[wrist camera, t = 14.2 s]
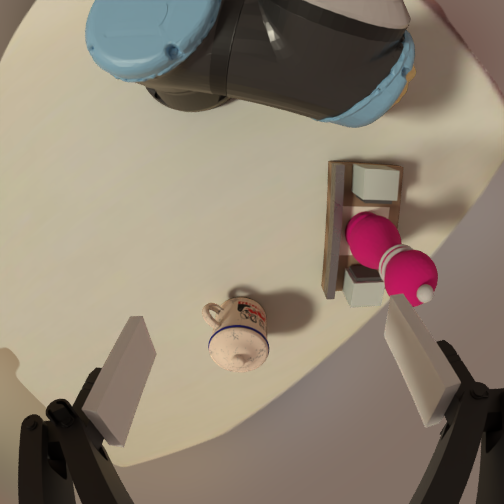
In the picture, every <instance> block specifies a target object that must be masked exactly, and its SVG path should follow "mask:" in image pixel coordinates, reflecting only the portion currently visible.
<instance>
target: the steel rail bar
mask: <svg viewBox="0 0 504 504" xmlns="http://www.w3.org/2000/svg"><path fill="white" fill-rule="evenodd" d="M344 172H345V165H343V164H341V163H332V169H331V198H330V218H329V234H328V248H327V261H326V273H325V284H324V293H325V296H326V299H334V297H335V289H336V280H337V271H338V261H339V251H340V239H341V226H342V212H343V195H344Z"/></svg>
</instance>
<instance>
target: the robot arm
mask: <svg viewBox="0 0 504 504" xmlns="http://www.w3.org/2000/svg"><path fill="white" fill-rule="evenodd" d="M410 20H411V18H410V16H409V13H408V11H407V9H406V6H405V4H404V2H403V0H95V1H94V3H93V5H92V7H91V9H90V12H89V15H88V18H87V22H86V30H85V38H86V45H87V49H88V51H89V53H90V55H91V56H92V58H93V60H94V62H95V63H96V64H97V65H98V66H99V67H100V68H102V69H103V70H105V71H106V72H108V73H110V74H111V75H113V76H114V77H115V78H117V79H121V80H122V81H125V82H135V83H138V84H141V85H144V86H145V87H146V89H147V90H148V92H149V93H150V94H151V95H152V96H153V97H154V98H155V99H156V100H157V101H158V102H160V103H161V104H163V105H165V106H167V107H169V108H172V109H175V110H179V111H185V112H200V111H206V110H209V109H212V108H215V107H217V106H219V105H221V104H223V103H225V102H226V101H228V100H229V99H230V98H235V99H240V100H245V101H249V102H254V103H258V104H262V105H266V106H270V107H274V108H278V109H282V110H285V111H289V112H293V113H296V114H300V115H303V116H307V117H310V118H312V119H314V120H316V121H320V122H331V123H335V124H338V125H342V126H346V127H352V128H357V127H363V126H366V125H369V124H371V123H373V122H374V121H376V120H377V119H379V118H380V117H381V116H383V115H384V114H385V113H386V112H387V111H388V110H389V109H390V108H391V107H392V105H393V104H394V103H395V101H396V100H397V99H398V97H399V96H400V94H401V93H402V91H403V89H404V87H405V85H406V83H407V80H406V75H407V74H408V72H410V71H411V70H412V67H413V63H414V58H415V45H414V42H413V39H412V37H411V35H410V33H409V32H408V31H407V30H406V29H407V27H408V26H409V23H410ZM384 337H385V339H386V341H387V343H388V345H389V347H390V350H391V351H392V354H393V356H394V358H395V360H396V362H397V364H398V366H399V368H400V371H401V373H402V374H403V377H404V379H405V382H406V384H407V386H408V388H409V390H410V393H411V395H412V397H413V399H414V402H415V404H416V406H417V409H418V411H419V414H420V416H421V418H422V421H423V423H424V426H425V427H429V426H432V425H435V424H438V423H440V422H441V420H442V418H443V417H444V416H445V418H446V420H447V423H446V424H445V426H444V428H443V429H442V431H441V432H440V435H441V437H440V440H439V442H438V445H437V447H436V449H435V452H434V454H433V456H432V459H431V461H430V463H429V465H428V467H427V470H426V472H425V474H424V476H423V478H422V480H421V482H420V484H419V486H418V488H417V490H416V492H415V494H414V495H413V497H412V499H411V501H410V503H409V504H459V501H460V499H461V496H462V494H463V491H464V489H465V486H466V484H467V481H468V479H469V476H470V473H471V470H472V467H473V464H474V461H475V458H476V455H477V451H478V448H479V445H480V441H481V461H480V474H479V483H478V493H477V499H476V504H504V388H501V389H489V388H488V387H487V386H486V385H485V384H483V383H480V382H475V381H474V379H473V377H472V376H471V374H470V372H469V371H468V369H467V368H466V366H465V365H464V363H463V362H462V361H461V359H460V357H459V355H457V353H456V351H455V349H454V348H453V347H452V345H450V344H449V343H448V342H446V341H445V340H442V341H438V342H436V341H435V339H434V338H433V337H432V335H431V334H430V332H429V330H428V329H427V327H426V326H425V324H424V323H423V321H422V320H421V319H420V317H419V316H418V314H417V313H416V311H415V310H414V308H413V307H412V305H411V304H410V303H409V301H408V300H407V298H406V297H405V296H404V294H396V295H390V301H389V308H388V314H387V320H386V326H385V332H384ZM155 357H156V351H155V349H154V346H153V343H152V341H151V338H150V335H149V333H148V330H147V327H146V324H145V322H144V319H143V316H131V317H130V318H129V320H128V322H127V323H126V325H125V327H124V329H123V330H122V332H121V334H120V336H119V338H118V339H117V341H116V343H115V345H114V347H113V349H112V351H111V352H110V354H109V356H108V358H107V360H106V362H105V364H104V366H103V368H95V369H94V370H93V371H92V372H91V373H90V374H89V376H88V377H87V379H86V381H85V383H84V385H83V387H82V390H81V391H80V393H79V394H78V396H77V398H76V400H75V402H74V404H73V406H71V404H70V403H69V402H68V401H67V400H65V399H57V400H54V401H53V402H51V403H50V404H49V405H48V407H47V409H46V416H47V417H48V418H49V419H50V421H43V420H42V418H41V417H40V416H38V415H36V414H32V415H30V416H28V417H27V418H25V419H24V421H23V422H22V426H21V433H20V446H19V466H18V496H19V504H76V502H75V495H74V487H73V483H74V485H75V488H76V490H77V493H78V495H79V497H80V500H81V502H82V504H134V503H133V501H132V499H131V498H130V496H129V494H128V492H127V491H126V489H125V487H124V485H123V483H122V482H121V480H120V478H119V476H118V474H117V472H116V470H115V468H114V467H113V464H112V462H111V460H110V458H109V456H108V454H107V452H106V450H105V448H104V447H103V445H102V442H103V440H104V439H105V440H106V441H107V443H108V444H109V445H112V446H118V447H124V445H125V442H126V439H127V436H128V433H129V430H130V427H131V424H132V421H133V418H134V415H135V412H136V409H137V406H138V403H139V401H140V398H141V395H142V392H143V389H144V387H145V384H146V381H147V378H148V376H149V373H150V370H151V367H152V365H153V362H154V359H155Z"/></svg>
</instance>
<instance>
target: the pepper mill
mask: <svg viewBox="0 0 504 504" xmlns="http://www.w3.org/2000/svg"><path fill="white" fill-rule="evenodd" d="M345 237H346V241H347V243H348V245H349V246H350V250H351V253H352V255H353V256H354V258H355V259H356V260H357V261H358V262H359V263H360V264H362V265H364V266H366V267H368V268H371V269H379V274H380V277H381V279H382V280H383V281H384V284H385V289H386V291H387V293H388V295H389V296H390V295H396V294H404V296H405V297H406V298H407V300H408V301H409V303H410V304H411V305H412V307H415V306H418V305H420V304H423V303H426V302H429V301H430V300H431V299H432V298H433V295H434V291H435V288H436V286H437V280H438V273H437V269H436V266H435V264H434V262H433V261H432V260H431V258H430V257H429V256H428V255H426V254H425V253H423V252H421V251H418V250H413V249H412V248H411V247H410V246H408V245H404V244H401V238H400V234H399V232H398V230H397V228H396V226H395V225H394V224H393V223H392V222H391V221H390V220H389V219H387V218H386V217H383V216H380V215H376V214H374V213H372V212H360V213H358V214H356V215H355V216H353V217H352V218H351V219H350V220H349V222H348V224H347V226H346V230H345Z"/></svg>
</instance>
